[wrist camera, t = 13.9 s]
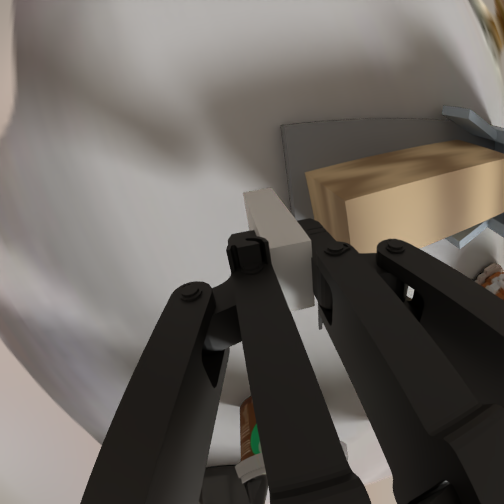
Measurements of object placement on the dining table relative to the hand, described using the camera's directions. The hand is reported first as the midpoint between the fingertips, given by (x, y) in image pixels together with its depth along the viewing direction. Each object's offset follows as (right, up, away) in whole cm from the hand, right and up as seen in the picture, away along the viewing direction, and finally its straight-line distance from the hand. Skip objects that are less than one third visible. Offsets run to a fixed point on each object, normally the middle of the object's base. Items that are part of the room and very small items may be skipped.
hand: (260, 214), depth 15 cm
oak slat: (+10, +3, +3) cm, 11 cm away
